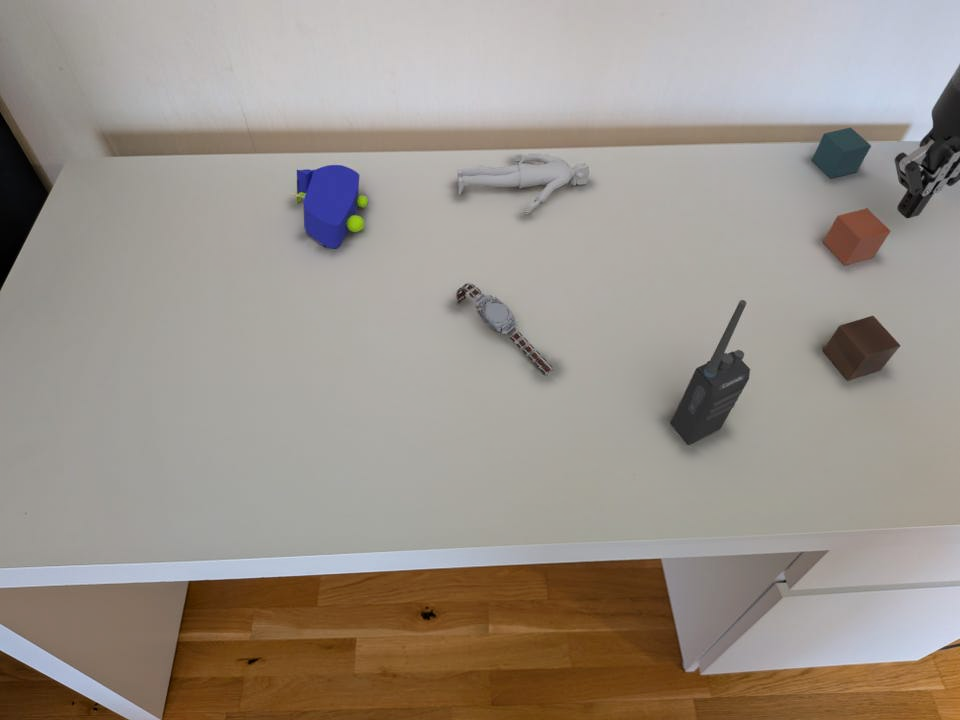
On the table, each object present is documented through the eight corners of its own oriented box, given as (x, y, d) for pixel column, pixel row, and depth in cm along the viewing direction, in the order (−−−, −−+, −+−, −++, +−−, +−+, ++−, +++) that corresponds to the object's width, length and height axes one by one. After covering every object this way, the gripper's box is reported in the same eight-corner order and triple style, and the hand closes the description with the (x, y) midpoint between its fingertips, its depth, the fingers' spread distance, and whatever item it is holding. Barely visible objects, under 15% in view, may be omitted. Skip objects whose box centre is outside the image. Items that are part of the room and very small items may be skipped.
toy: (357, 191, 95) (288, 194, 92) (359, 159, 91) (286, 161, 88) (375, 253, 89) (301, 259, 86) (378, 222, 85) (301, 227, 82)
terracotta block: (851, 234, 89) (867, 207, 85) (874, 257, 86) (891, 230, 83) (822, 242, 88) (837, 215, 84) (844, 265, 85) (860, 239, 82)
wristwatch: (466, 291, 82) (474, 269, 78) (548, 378, 80) (561, 361, 75) (444, 307, 80) (451, 285, 76) (527, 396, 78) (539, 379, 74)
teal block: (837, 154, 99) (850, 127, 95) (856, 172, 97) (871, 145, 93) (811, 160, 98) (823, 133, 95) (830, 179, 96) (844, 152, 92)
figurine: (461, 218, 90) (595, 211, 91) (461, 195, 87) (599, 188, 88) (455, 165, 97) (579, 160, 99) (454, 143, 94) (582, 137, 96)
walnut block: (854, 340, 78) (873, 315, 74) (880, 370, 76) (901, 345, 72) (822, 350, 77) (839, 325, 74) (847, 381, 75) (866, 356, 71)
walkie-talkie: (687, 448, 69) (751, 322, 53) (667, 423, 71) (723, 294, 55) (724, 430, 71) (797, 302, 55) (704, 406, 73) (768, 275, 57)
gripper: (968, 115, 67) (883, 244, 81) (1069, 92, 70) (970, 221, 84) (915, 76, 72) (843, 205, 85) (1013, 56, 74) (928, 184, 88)
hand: (906, 213), depth 85 cm, fingers closed
